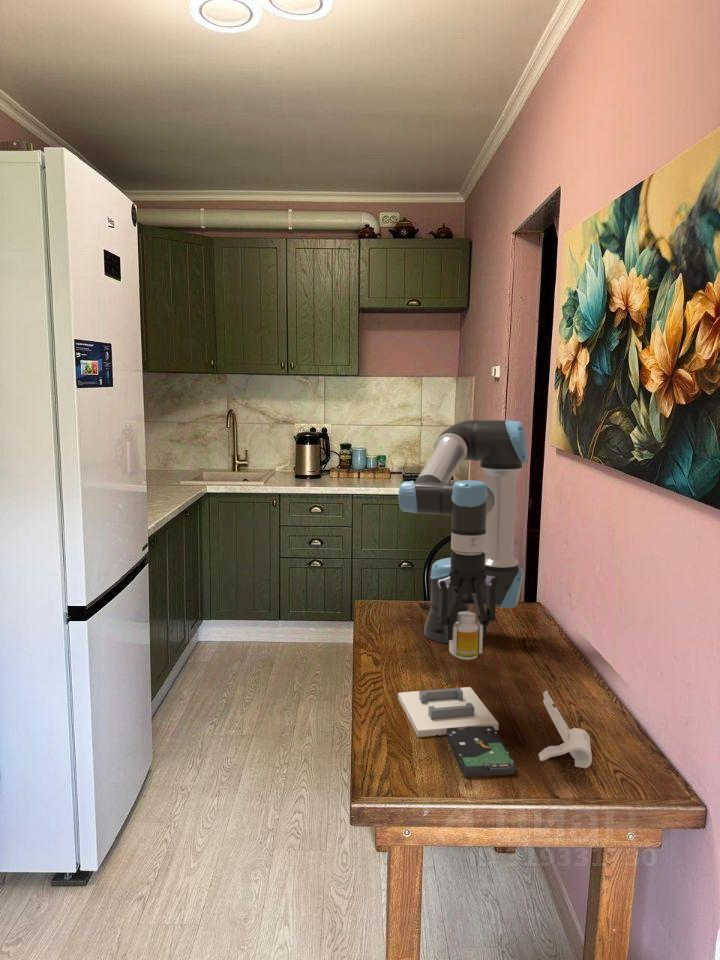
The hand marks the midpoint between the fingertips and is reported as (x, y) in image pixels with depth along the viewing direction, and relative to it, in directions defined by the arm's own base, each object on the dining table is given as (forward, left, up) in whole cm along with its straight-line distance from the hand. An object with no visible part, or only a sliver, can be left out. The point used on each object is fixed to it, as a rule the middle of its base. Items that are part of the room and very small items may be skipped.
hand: (465, 651), depth 148 cm
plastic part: (+20, +15, -15) cm, 29 cm away
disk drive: (+17, -3, -16) cm, 23 cm away
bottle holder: (-1, -4, -15) cm, 15 cm away
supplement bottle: (0, 0, -1) cm, 1 cm away
